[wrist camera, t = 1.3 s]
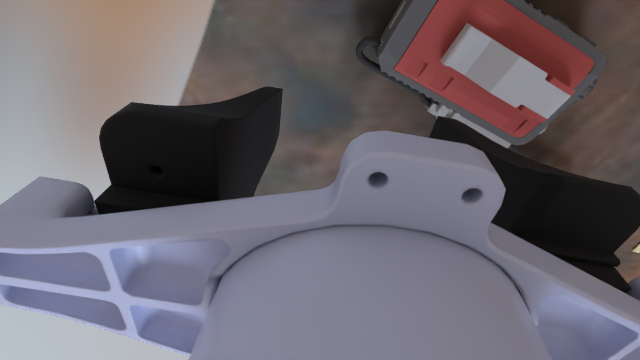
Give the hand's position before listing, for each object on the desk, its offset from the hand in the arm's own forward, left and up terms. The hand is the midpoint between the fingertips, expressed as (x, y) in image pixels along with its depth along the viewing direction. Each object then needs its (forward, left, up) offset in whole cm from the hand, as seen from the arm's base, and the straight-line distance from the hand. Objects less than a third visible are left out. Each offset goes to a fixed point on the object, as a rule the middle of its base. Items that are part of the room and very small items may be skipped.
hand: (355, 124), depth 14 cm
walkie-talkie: (0, -10, -10) cm, 14 cm away
